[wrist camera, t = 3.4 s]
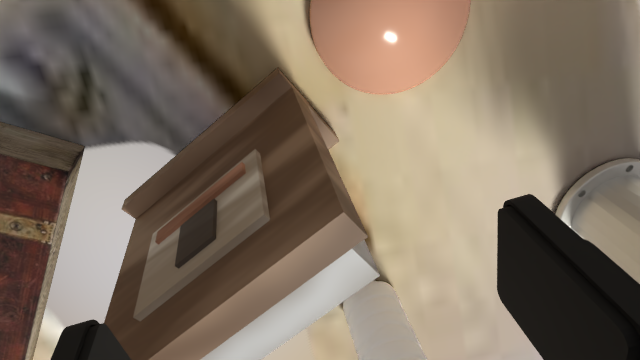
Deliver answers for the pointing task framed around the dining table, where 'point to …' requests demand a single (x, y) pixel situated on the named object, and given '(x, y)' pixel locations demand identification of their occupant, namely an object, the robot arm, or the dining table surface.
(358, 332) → the water bottle
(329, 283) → the mount stand
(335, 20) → the peach round disc
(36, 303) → the hardback book
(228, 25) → the dining table surface
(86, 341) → the robot arm
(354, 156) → the dining table surface
